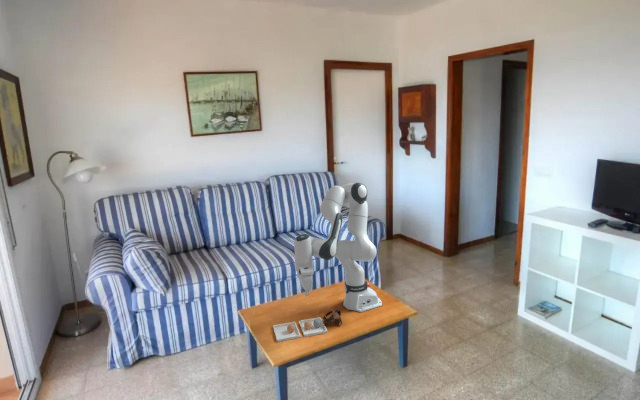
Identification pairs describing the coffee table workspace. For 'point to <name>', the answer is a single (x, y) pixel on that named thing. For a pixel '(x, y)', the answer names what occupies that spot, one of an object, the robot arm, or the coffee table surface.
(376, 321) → the coffee table surface
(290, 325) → the terracotta ball
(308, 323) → the terracotta ball
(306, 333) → the dish
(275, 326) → the dish
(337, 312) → the pottery mug
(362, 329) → the coffee table surface
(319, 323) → the ball grey
